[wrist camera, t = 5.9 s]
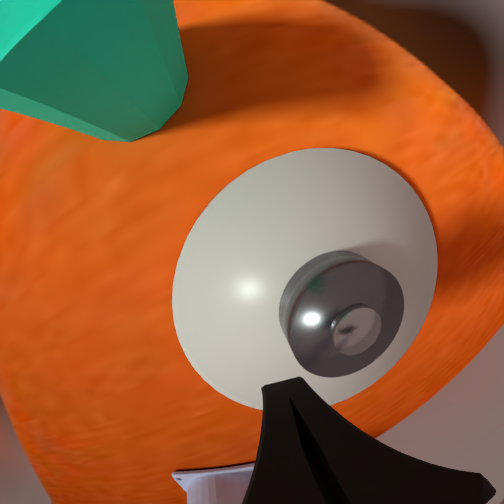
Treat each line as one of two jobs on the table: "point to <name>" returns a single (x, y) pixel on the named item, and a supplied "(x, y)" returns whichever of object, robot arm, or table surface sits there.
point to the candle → (92, 64)
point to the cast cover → (340, 313)
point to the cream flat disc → (295, 265)
